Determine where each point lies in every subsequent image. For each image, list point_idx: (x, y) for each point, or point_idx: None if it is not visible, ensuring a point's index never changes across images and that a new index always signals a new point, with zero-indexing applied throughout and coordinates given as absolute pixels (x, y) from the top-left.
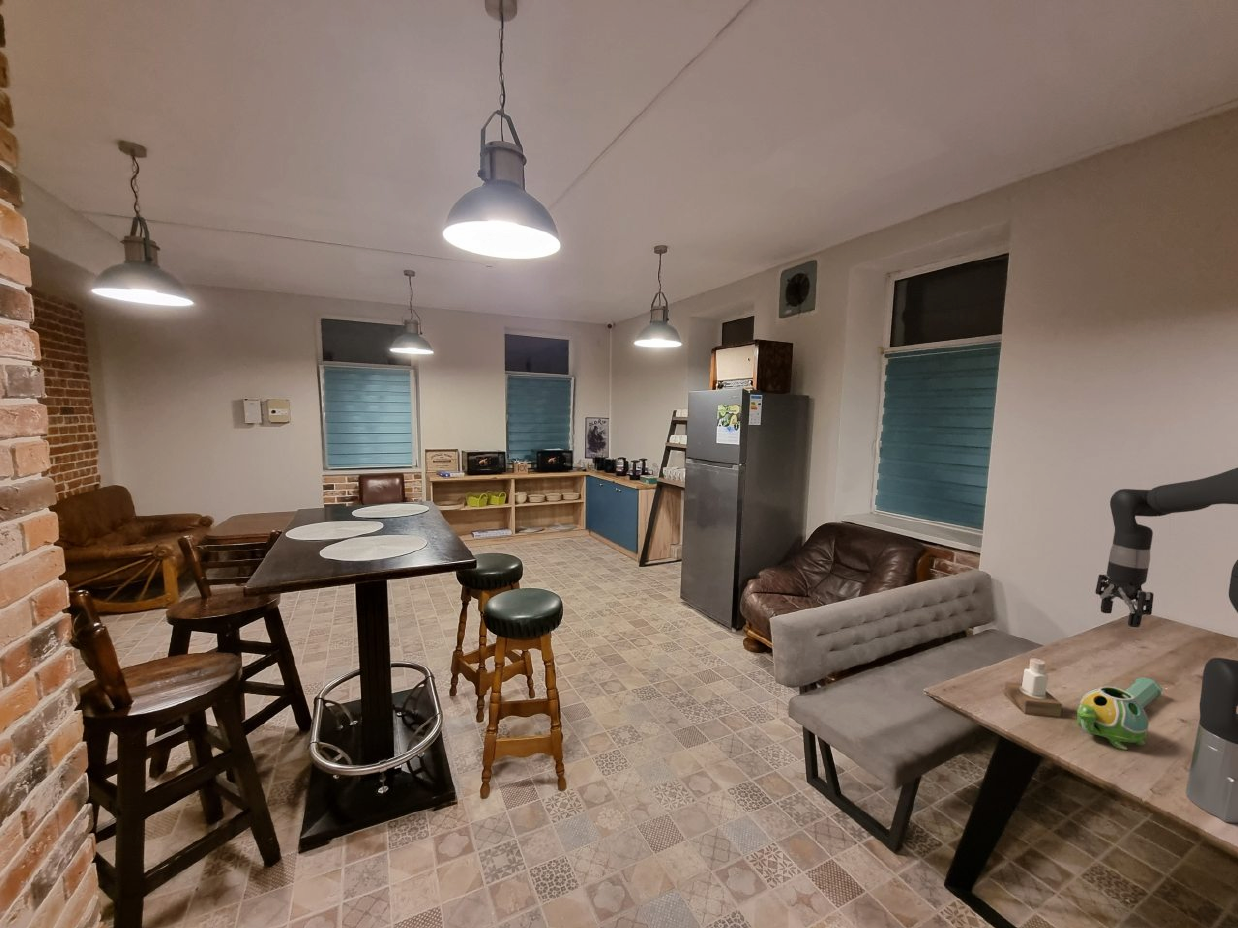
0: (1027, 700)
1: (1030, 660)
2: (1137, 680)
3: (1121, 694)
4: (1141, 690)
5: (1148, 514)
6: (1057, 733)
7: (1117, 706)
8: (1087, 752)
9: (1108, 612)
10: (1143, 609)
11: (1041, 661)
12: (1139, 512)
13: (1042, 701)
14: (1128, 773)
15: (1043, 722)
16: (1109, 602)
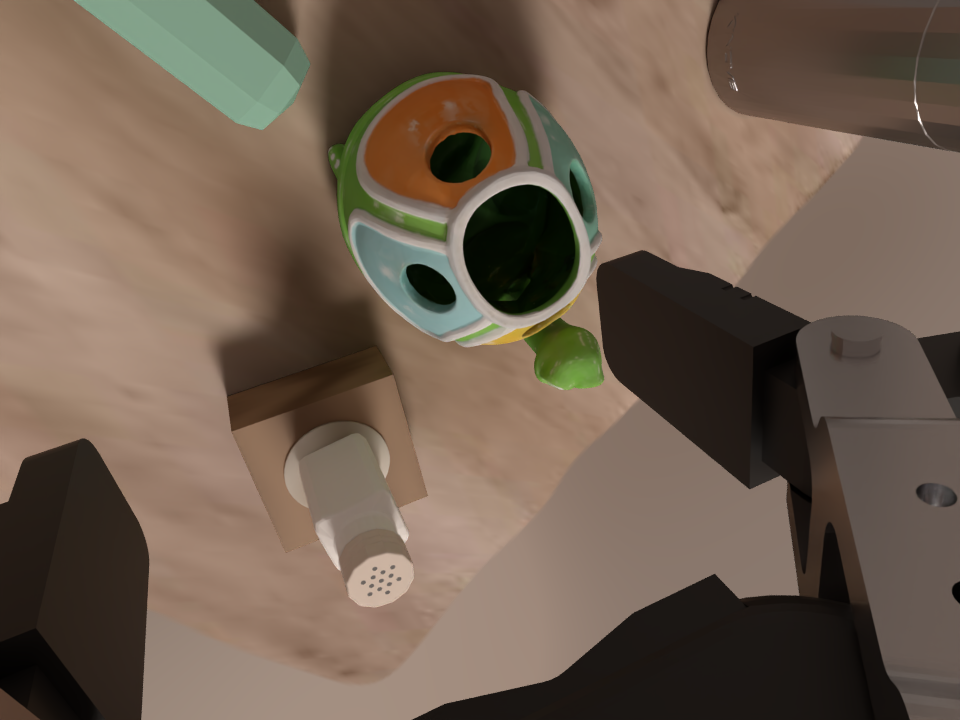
0: (423, 491)
1: (375, 603)
2: None
3: (441, 182)
4: None
5: None
6: (505, 383)
7: (593, 270)
8: (589, 322)
9: (102, 476)
10: (932, 370)
11: (375, 565)
12: None
13: (406, 442)
14: (666, 240)
15: (446, 411)
16: (85, 648)
